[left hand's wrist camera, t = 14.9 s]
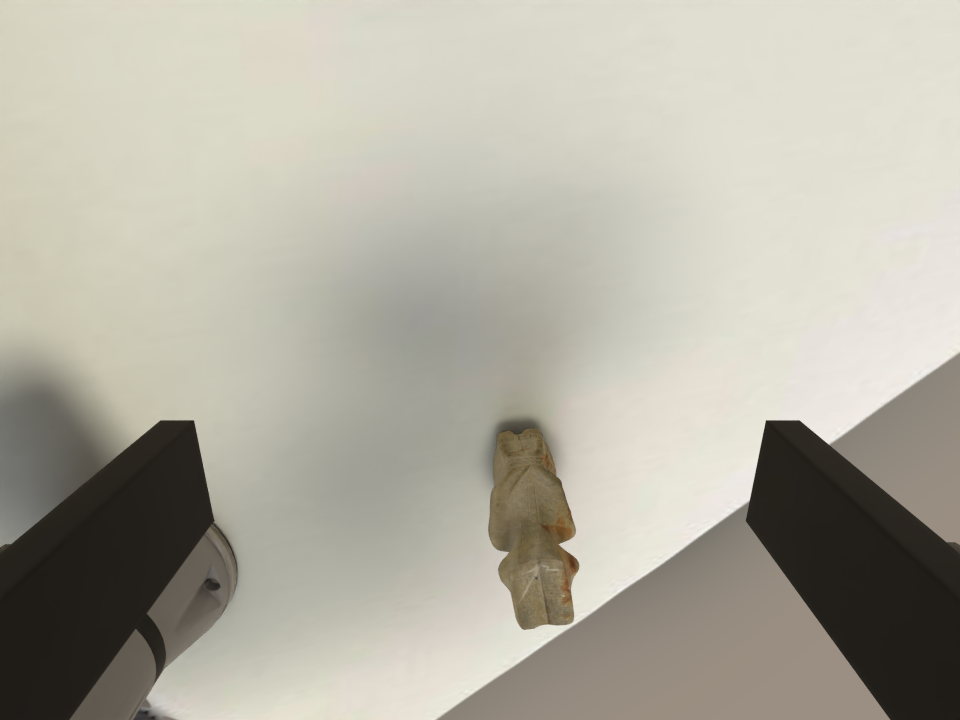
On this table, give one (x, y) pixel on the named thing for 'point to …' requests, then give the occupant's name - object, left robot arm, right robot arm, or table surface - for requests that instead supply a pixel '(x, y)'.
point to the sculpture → (532, 530)
